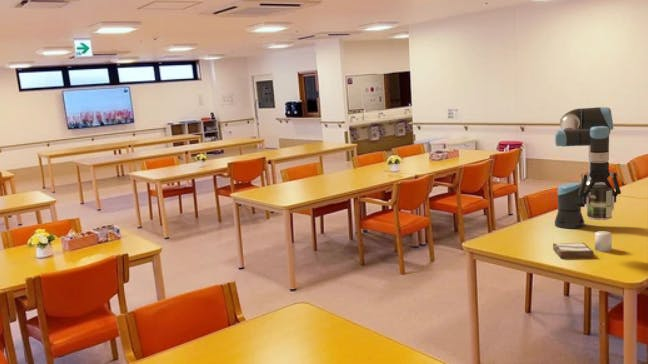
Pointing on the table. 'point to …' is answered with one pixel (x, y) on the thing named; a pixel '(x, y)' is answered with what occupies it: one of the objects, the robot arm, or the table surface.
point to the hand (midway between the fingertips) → (599, 210)
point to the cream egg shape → (603, 241)
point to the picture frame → (572, 250)
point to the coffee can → (600, 202)
